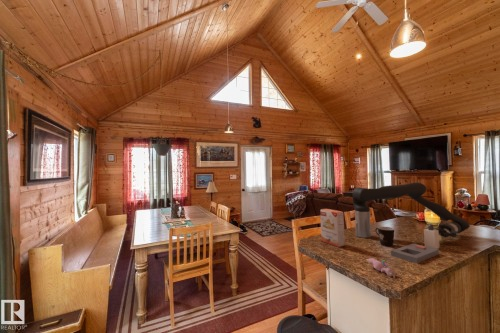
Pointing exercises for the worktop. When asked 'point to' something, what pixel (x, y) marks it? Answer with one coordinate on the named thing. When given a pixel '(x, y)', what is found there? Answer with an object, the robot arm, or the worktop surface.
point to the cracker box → (332, 227)
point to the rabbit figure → (382, 267)
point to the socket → (415, 253)
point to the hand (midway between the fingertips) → (435, 233)
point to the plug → (431, 237)
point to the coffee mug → (386, 236)
